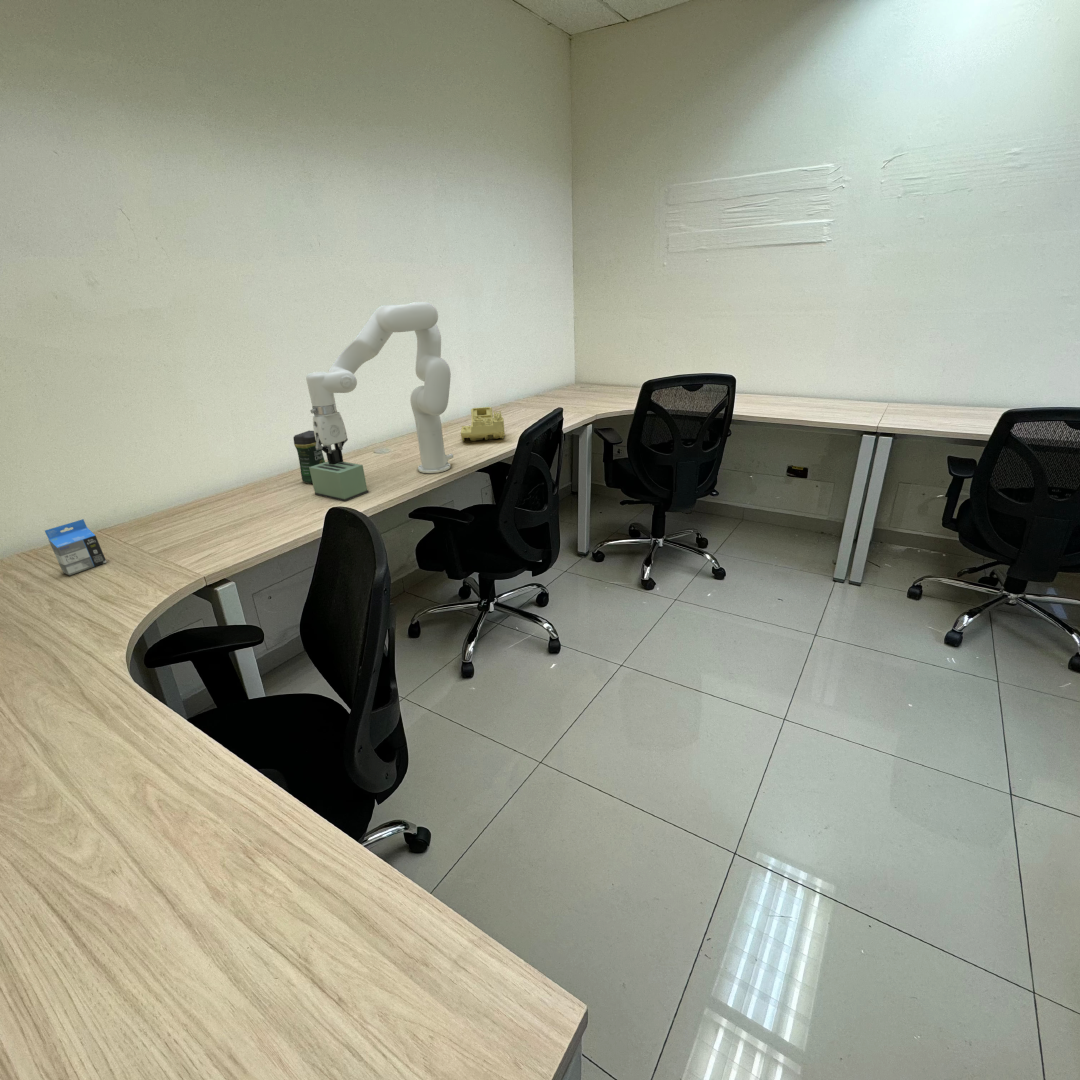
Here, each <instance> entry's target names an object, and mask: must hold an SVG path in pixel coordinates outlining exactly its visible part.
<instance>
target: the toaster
mask: <svg viewBox="0 0 1080 1080" xmlns="http://www.w3.org/2000/svg"><path fill="white" fill-rule="evenodd" d="M309 469H310V474H311V478H312V482H313V483H312V486H313V491H314V495H316V496H320V497H324V498H329V499H333V500H337V501H341V502H347V501H349V500H352V499H355V498H357V497H360V496H363V495H364V494H367V493H369V490H368V486H367V481H366V476H365V470H364V465H363V464H360V463H355V462H348V461H343V462H339V461H338V462H336V464H329V462H328V460H327V461H325V462H324V463H321V464H318V465H315V466H312V467H309Z"/></svg>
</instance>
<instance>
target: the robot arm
mask: <svg viewBox="0 0 1080 1080" xmlns="http://www.w3.org/2000/svg"><path fill="white" fill-rule="evenodd" d="M438 320H439V313H438V309H437V308H436V307H435V306H434V304H432V303H430V302H429V301H413V302H410V303H405V304H404V303H403V304H384V305H383V304H382V305H380V306H378V307H377V308H376V309H375V310H374V311H373V313H372V314H371V315H370V317H369V318H368V320H367V321H366V323H364V325H363V326H362V328H361V330H360V331H359V333H358V334H357V336H356V337H355V338H354V339H353V340H352V341H351V342H350V343H349V344H348V346H346V348H344V350H343V351H342V352H341V353H340V354H339V355H338V357H336V359H335V360H334V362H333V364H332V365H331V366H330V367H329V370H328V371H327V372H326V371H313V372H309V373H307V374H306V376H305V379H306V385H307V389H308V393H309V398H310V402H311V407H312V409H310V411H309V412H310V413H311V414H312V415H313V416H312V427H313V431H314V435H315V440H316V449H320V450H322V452H323V453H325V454H326V460H327V461H328V462H329V464H336V461H335V457H334V453H332V450H333V448H332V445H333V447H334V449H337V450H338V452H339V456H340V461H339V462H344V456H343V450H344V449H343V447H344V445H345V443H347V442H348V434H347V430H346V426H345V423H344V420H343V417H342V415H341V412H340V411H338V408H337V404H336V399H335V394H348V393H352V392H353V391H354V390H355V389H356V388H357V385H358V379H357V377H356V375H355V373H356V372H357V371H358V369H359V368H360V367H362V366H363V365H364V364H365V363H366V362H368V361H370V360H373V359H374V358H376V356H378V355H379V353H380V352H381V351H382V349H383V347H385V344H386V343H387V341H388V340H389V339H390V337H391V336H392V335H393V333H406V332H407V333H408V332H414V333H415V336H416V358H415V368H414V369H415V375H416V377H417V378H418V380H419V381H422V382H424V385H419V386H416V387H415V388H414V389H412V391H411V394H410V406H411V410H412V414H413V418H414V422H415V429H416V435H417V442H418V443H417V444H418V450H419V456H420V463H421V464H420V465H418V466H417V471H418V472H420V473H423V474H438V473H443V472H446V471H448V470H450V469H451V467H452V466H451V463H449V460H453V458H454V453H449V454H446V451H445V443H444V442H445V441H444V435H443V426H442V420H441V415H443V414H444V412H445V411H446V410H447V408H448V405H449V397H450V388H451V377H452V376H451V368H450V365H449V364H448V362H447V360H445V359H444V358H442V336H441V332H440V329H439V326H438V325H437V323H438Z"/></svg>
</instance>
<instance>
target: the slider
mask: <svg viewBox="0 0 1080 1080" xmlns="http://www.w3.org/2000/svg"><path fill="white" fill-rule="evenodd" d="M332 453H334V457H335V461H336V462H338V461H340V456H339V452H338V450H337V449H335V448H334V449H333V448H332Z"/></svg>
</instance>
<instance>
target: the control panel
mask: <svg viewBox="0 0 1080 1080" xmlns="http://www.w3.org/2000/svg"><path fill="white" fill-rule="evenodd" d="M470 417H471V421H470V422H471V423H470V425H462V426H461V429H460V437H461V440H462V442H465V439H466V438H467V439H468V438H469V440H470V441H471V442H472V441H473V442H474V441H483V439H484V440H485V441H488V440H491V439H493V440H498V439H502V440H503V439H504V437H505V436H506V435H505V432H506V431H505V420H504V417H503V416H502V411H501V410H499V411H497V412H496V411H493V407H490V406H485V407H484V406H483V407H482V406H481V407H472V408H471V409H470Z"/></svg>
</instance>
